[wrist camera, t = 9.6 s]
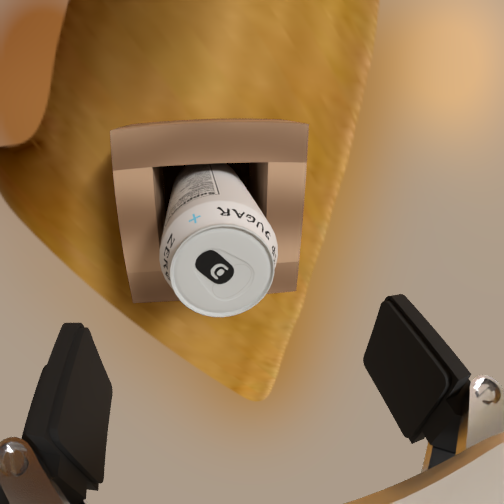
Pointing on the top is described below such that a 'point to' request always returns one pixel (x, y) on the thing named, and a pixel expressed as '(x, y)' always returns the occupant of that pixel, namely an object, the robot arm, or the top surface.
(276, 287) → the well
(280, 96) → the top surface
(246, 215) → the energy drink can
